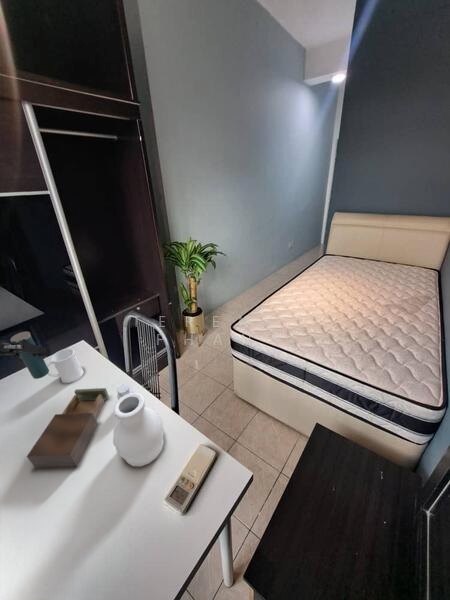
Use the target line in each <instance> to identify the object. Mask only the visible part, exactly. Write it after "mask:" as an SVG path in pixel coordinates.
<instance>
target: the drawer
mask: <svg viewBox="0 0 450 600" xmlns="http://www.w3.org/2000/svg"><path fill="white" fill-rule="evenodd" d="M109 399H110V395H109V393H108V390H107V387H103V388H102V387H101V388H79V389H75V390H74V395H73V396H72V398H71V400H70V401H69V402H68V404H67V406H66V407H65V408H64V410H63V411H62V412H61V414H77V413H93V415H94V417H95V419H96V420H97V418H98V416H99V414H100V412H101V410H102V408H103V406H104V404H105V401H106V400H109Z"/></svg>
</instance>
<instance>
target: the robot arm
mask: <svg viewBox="0 0 450 600" xmlns="http://www.w3.org/2000/svg"><path fill="white" fill-rule="evenodd" d="M19 353H23V354H32V355H33V357H36V356H37V355H40V356H42V357H50V355H51V354H50V353H51V348H50V347H47V346H46V347H45V346H43V345H41V344H36V345H33V344H26V343H21V342H11V341H8V340H5V339H3V340H2V339H0V356H4V357H5V356H17V357H21V356H20V354H19Z"/></svg>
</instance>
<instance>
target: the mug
mask: <svg viewBox="0 0 450 600" xmlns="http://www.w3.org/2000/svg"><path fill="white" fill-rule="evenodd" d="M46 365H47V367H48V368H49V367H50V366H51V365H54V368H55V369H56V371H57V374H52V373H49V372H48V374H47V375H48V376H50V377H53V378H58V377H60V379H61V382H62V383H64V384H69V383H70V384H71V383H73V382H76V381H78V380H79V379H80V378H81V377H82V376H83V375H84V370H83V368H82V366H81V364H80V361H79V359H78V357H77V355H76V353H75V351H74V349H72V348H64V349H60V350H58V351H56V352H55V353H54V354H53V355H52V356H51V361H49V362H48V364H46Z"/></svg>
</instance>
